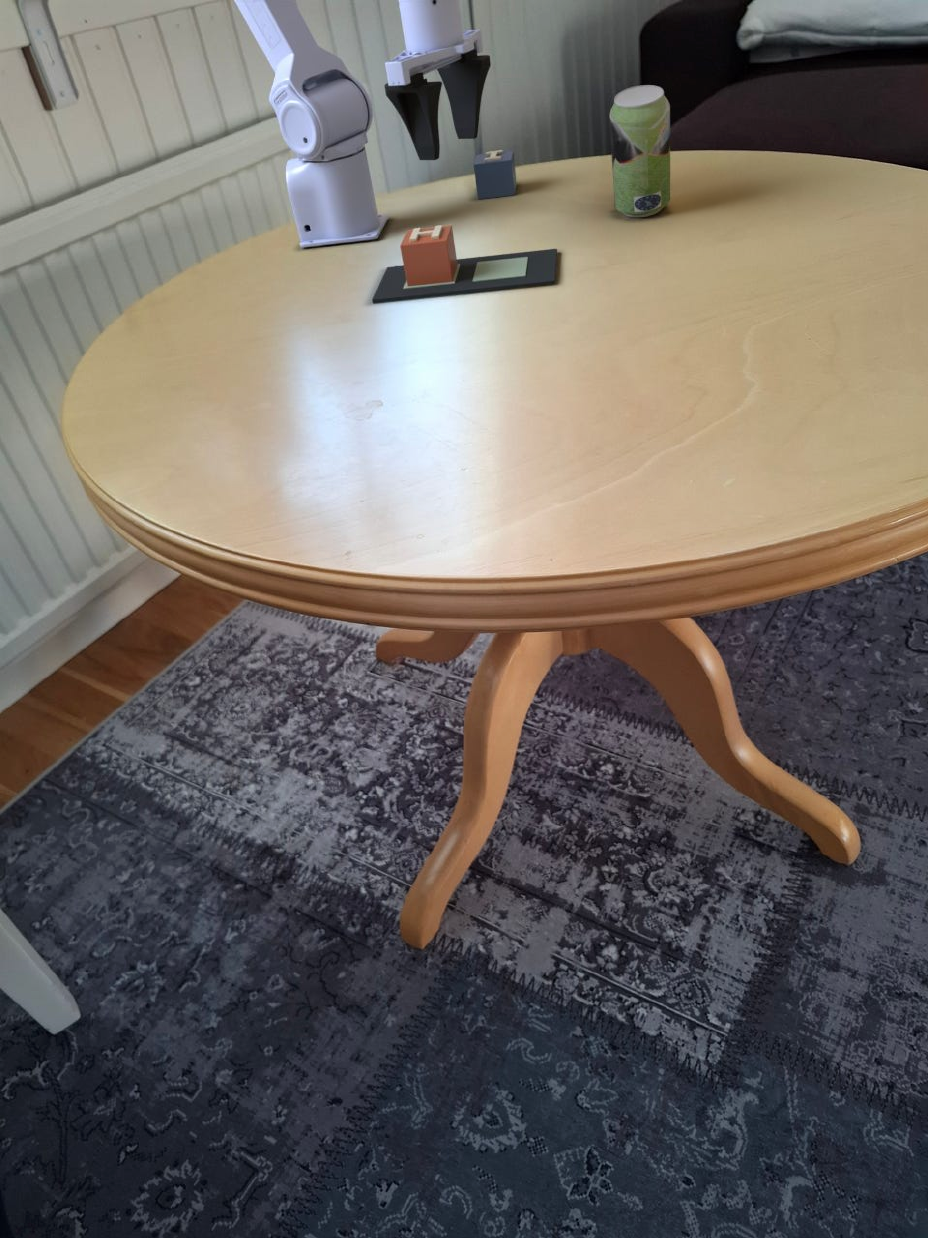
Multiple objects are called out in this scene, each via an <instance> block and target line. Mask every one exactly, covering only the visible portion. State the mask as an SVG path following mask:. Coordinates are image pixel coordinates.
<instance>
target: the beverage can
mask: <svg viewBox="0 0 928 1238" xmlns="http://www.w3.org/2000/svg"><path fill="white" fill-rule="evenodd" d="M613 101H614V102H613V104H612V106H611V108H610V110H609V115H608V117H609V134H610V150H611V151H610V152H611V169H612V170H611V171H612V172H611V173H612V189H613V204H614V205H613V206H614V208H615V209H616V210H617V211H618V212H619V213H621V214H623V215H624V216H626V217H630V218H640V219H641V218H647V217H651V216H653V215H656V214H657V213H659V212H661V211H662V209H663V208H665V207H666V206H667V205H669V203H670V201H671V103H670V102H669V100H668V99H667V97H666V96H665V91H664V89H663V88H662V87H661V86H657V85H651V84H644V85H635V86H631V87H628V88H626V89H623V90H621V91H620V92H618V93H617V94H616V95H615V96H614V99H613Z"/></svg>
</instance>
